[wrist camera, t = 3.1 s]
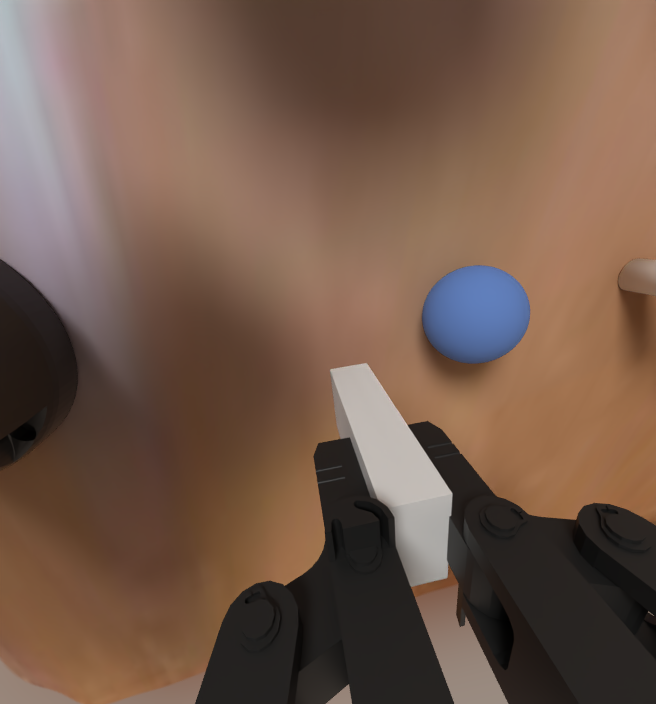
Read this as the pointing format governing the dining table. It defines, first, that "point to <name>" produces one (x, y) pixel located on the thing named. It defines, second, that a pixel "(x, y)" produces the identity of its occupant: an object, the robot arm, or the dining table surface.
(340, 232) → the dining table surface
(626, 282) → the pin
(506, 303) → the ball
